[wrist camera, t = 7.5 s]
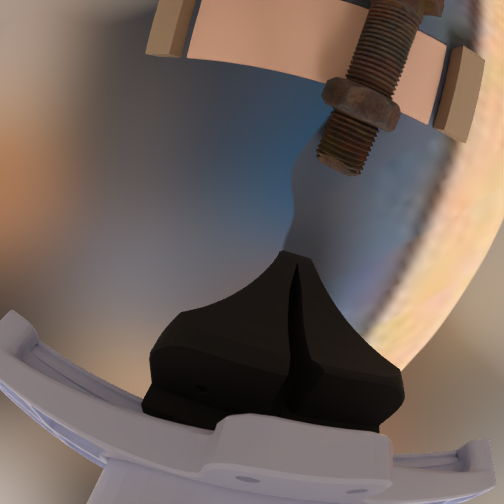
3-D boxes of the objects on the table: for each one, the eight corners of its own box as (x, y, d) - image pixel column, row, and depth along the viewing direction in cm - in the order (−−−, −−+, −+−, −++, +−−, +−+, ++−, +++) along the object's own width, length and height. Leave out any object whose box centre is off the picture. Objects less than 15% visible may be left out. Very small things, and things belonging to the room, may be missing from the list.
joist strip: (453, 139, 15) (465, 143, 14) (158, 56, 17) (145, 53, 15) (471, 62, 12) (484, 60, 10) (179, -17, 13) (167, -25, 11)
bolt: (323, 151, 20) (383, -9, 12) (381, 184, 18) (446, 11, 9) (280, 149, 16) (354, -51, 7) (353, 189, 14) (435, -34, 5)
